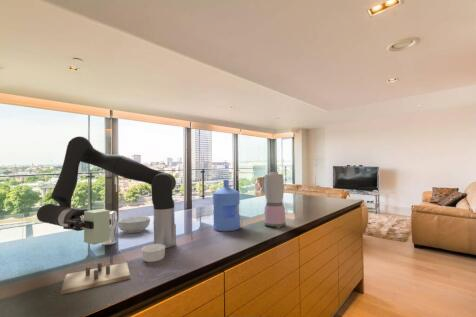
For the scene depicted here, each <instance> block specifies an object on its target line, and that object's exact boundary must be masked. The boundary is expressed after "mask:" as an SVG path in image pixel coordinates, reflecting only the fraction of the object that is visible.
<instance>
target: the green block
mask: <svg viewBox="0 0 476 317" xmlns="http://www.w3.org/2000/svg"><path fill="white" fill-rule="evenodd" d="M110 211H111V209H110V210H109V209H102V208H97V209H92V210H88V211H84V220H86V221H91V222H93V223H94V228H93V229H87V228H85V229H84V230H83V242H84V243H86V244H90V245H92V246H93V245H94V246H95V245H98V244H102V242H106V241H109V240H110Z"/></svg>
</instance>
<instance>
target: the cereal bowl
mask: <svg viewBox="0 0 476 317" xmlns="http://www.w3.org/2000/svg"><path fill="white" fill-rule="evenodd" d="M150 222H151V218H150V217H149V216H133V217H126V218H121V219H119V220H118V219H117V226H118V229H119V230H120V231H122V232H125V233H127V234H137V233H141V232H142V231H143V230H145V229H147V228H148V227H149V226H150Z"/></svg>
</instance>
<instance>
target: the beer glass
mask: <svg viewBox="0 0 476 317" xmlns="http://www.w3.org/2000/svg"><path fill="white" fill-rule="evenodd" d="M117 214H118V213H117V210H110V219H111V225H110V240H109V241H106V242H102V243H101V245H102V246H110V245H114V244H116V242H117V240H116V232H117V226H118V215H117Z"/></svg>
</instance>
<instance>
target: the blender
mask: <svg viewBox="0 0 476 317" xmlns="http://www.w3.org/2000/svg"><path fill="white" fill-rule="evenodd" d="M284 186H285V184H284V174H282V173H279V171H269V172H268V173H265V174H264V176H263V177H262V178H261V191H262V193H263V194H264V195H265V199H266V200H265V201H266V204H265V207H264V226H265V227H267V226H269V227H275V228H276V229H280V228H281V227H286V223H287V222H286V209H285V208H286V207H285V206H284V203H283V202H284V201H283V199H284V193H285V188H284Z"/></svg>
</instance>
